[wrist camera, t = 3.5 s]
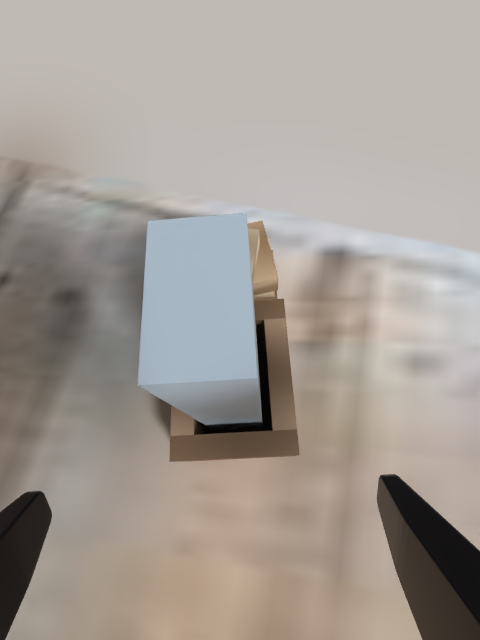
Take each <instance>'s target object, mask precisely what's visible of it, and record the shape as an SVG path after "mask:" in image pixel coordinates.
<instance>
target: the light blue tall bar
mask: <svg viewBox="0 0 480 640" xmlns="http://www.w3.org/2000/svg"><path fill="white" fill-rule="evenodd" d="M138 386H139V387H141V388H143V389H145V390H146V391H148V392H150V393H151V394H153V395H155V396H157V397H158V398H160V399H162V400H163V401H165V402H167V403H168V404H170V405H172V406H174V407H175V408H177V409H179V410H180V411H182V412H184V413H186V414H187V415H189V416H191V417H192V418H194V419H196V420H197V421H199V422H201V423H203V424H204V425H206V426H208V427H209V428H211V429H213V430H216V429H235V428H253V427H263V422H262V407H261V392H260V377H259V362H258V348H257V335H256V323H255V311H254V298H253V286H252V274H251V262H250V249H249V237H248V225H247V213H238V214H226V215H214V216H202V217H190V218H178V219H166V220H154V221H148V224H147V241H146V257H145V273H144V289H143V305H142V322H141V338H140V354H139V370H138Z"/></svg>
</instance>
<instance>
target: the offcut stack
mask: <svg viewBox="0 0 480 640" xmlns="http://www.w3.org/2000/svg"><path fill="white" fill-rule="evenodd" d="M247 225H248V237H249V249H250V262H251V274H252V286H253V298H254V301H260V300H274V299H275V291H277V290H278V275H277V271H276V268H275V264H274V260H273V257H272V253H271V247H270V238H267V236H266V232H265V228H264V225H263V221H258V222H254V223H249V224H247Z"/></svg>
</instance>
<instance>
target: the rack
mask: <svg viewBox="0 0 480 640" xmlns="http://www.w3.org/2000/svg"><path fill="white" fill-rule="evenodd" d="M271 253H272V257H273V250H271ZM273 260H274V259H273ZM254 311H255V323H256V335H257V340H262V339H265V351H266V364H267V378H268V391H269V404H270V417H271V431H255V432H237V433H218V434H205V425H204V424H203V423H201V422H199V421H197V420H196V419H194V418H192V417H191V416H189V415H187V414H186V413H184V412H182V411H180V410H179V409H177V408H175V407H174V406H172V405H171V430H170V461H203V460H223V459H243V458H262V457H282V456H296V455H299V446H298V436H297V426H296V416H295V406H294V396H293V386H292V376H291V367H290V357H289V347H288V337H287V327H286V317H285V307H284V299H277V291H275V299H274V300H260V301H254Z"/></svg>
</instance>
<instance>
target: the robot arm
mask: <svg viewBox="0 0 480 640" xmlns="http://www.w3.org/2000/svg"><path fill="white" fill-rule="evenodd" d="M377 503H378V508H379V512H380V515H381V519H382V522H383V526H384V530H385V533H386V537H387V540H388V544H389V548H390V551H391V555H392V558H393V562H394V565H395V569H396V572H397V574H398V577H399V580H400V583H401V585H402V588H403V591H404V593H405V596H406V598H407V601H408V603H409V606H410V609H411V611H412V614H413V616H414V619H415V622H416V624H417V627H418V629H419V632H420V634H421V637H422V640H480V551H479V550H478V549H477V548H476V547H475V546H474V545H473V544H472V543H471V542H470V541H468V540H467V539H466V538H465V537H464V536H463V535H462V534H461V533H460V532H459V531H458V530H456V529H455V528H454V527H453V526H452V525H451V524H450V523H449V522H448V521H447V520H446V519H444V518H443V517H442V516H441V515H440V514H439V513H438V512H437V511H436V510H435V509H434V508H432V507H431V506H430V505H429V504H428V503H427V502H426V501H425V500H424V499H423V498H422V497H420V496H419V495H418V494H417V493H416V492H415V491H414V490H413V489H412V488H411V487H410V486H408V485H407V484H406V483H405V482H404V481H403V480H402V479H401V478H400V477H399V476H397V475H395V474H388V475H381V476H380V477H379V482H378V492H377ZM51 518H52V512H51V509H50V507H49V504H48V502H47V499H46V497H45V495H44V493H43V492H41V491H31V492H26V493H24V494H23V495H21V496H20V497H19V498H18V499H16V500H15V501H14V502H12V503H11V504H10V505H9V506H7V507H6V508H5V509H4V510H2V511H1V512H0V640H5V639H6V637H7V634H8V632H9V630H10V628H11V625H12V623H13V621H14V618H15V616H16V614H17V612H18V609H19V607H20V605H21V602H22V600H23V598H24V596H25V593H26V591H27V588H28V586H29V584H30V581H31V578H32V576H33V573H34V570H35V567H36V564H37V561H38V558H39V555H40V552H41V549H42V546H43V543H44V540H45V537H46V535H47V532H48V529H49V526H50V523H51Z"/></svg>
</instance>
